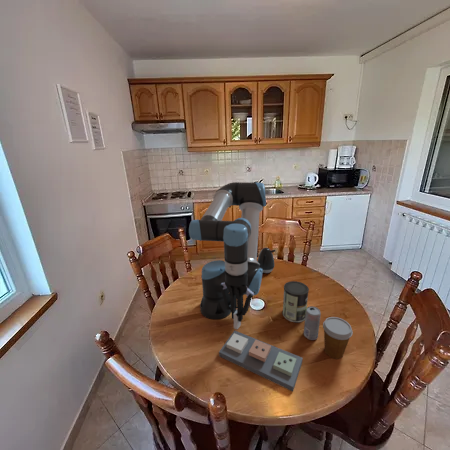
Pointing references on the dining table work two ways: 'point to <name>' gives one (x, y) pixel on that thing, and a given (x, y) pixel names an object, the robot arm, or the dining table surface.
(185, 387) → the dining table surface
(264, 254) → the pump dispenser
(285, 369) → the key three
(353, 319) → the dining table surface
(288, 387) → the keypad board
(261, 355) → the key two
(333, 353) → the disposable coffee cup
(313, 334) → the energy drink
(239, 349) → the key one
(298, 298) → the coffee can
